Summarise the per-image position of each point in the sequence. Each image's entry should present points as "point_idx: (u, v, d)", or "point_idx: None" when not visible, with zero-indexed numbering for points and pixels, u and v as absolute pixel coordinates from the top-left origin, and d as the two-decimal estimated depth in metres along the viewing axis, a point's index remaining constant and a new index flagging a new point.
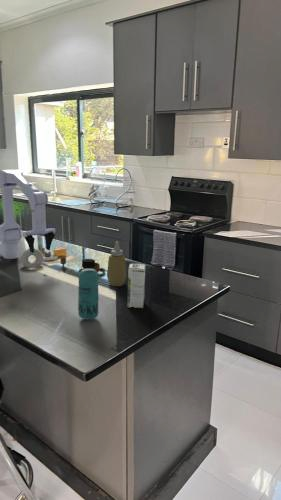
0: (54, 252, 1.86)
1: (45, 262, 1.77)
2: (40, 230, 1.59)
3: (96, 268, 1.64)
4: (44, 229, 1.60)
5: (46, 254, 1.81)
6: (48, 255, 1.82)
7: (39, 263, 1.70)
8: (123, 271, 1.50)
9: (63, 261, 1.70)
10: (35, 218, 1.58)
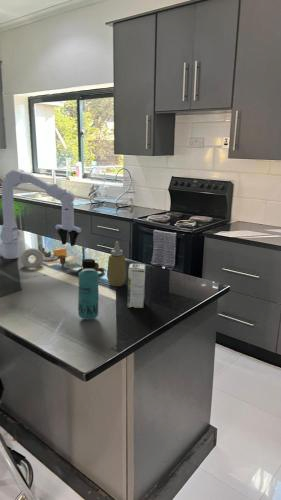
0: (54, 252, 1.86)
1: (45, 262, 1.77)
2: (62, 226, 1.79)
3: (95, 268, 1.64)
4: (66, 226, 1.78)
5: (46, 254, 1.81)
6: (48, 255, 1.82)
7: (39, 263, 1.70)
8: (123, 271, 1.50)
9: (62, 261, 1.70)
10: (69, 215, 1.77)
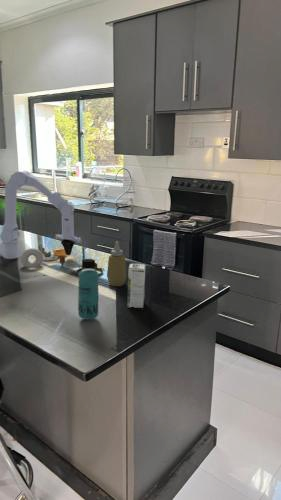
0: (54, 252, 1.86)
1: (45, 262, 1.77)
2: (62, 236, 1.80)
3: (93, 268, 1.65)
4: (66, 236, 1.79)
5: (46, 254, 1.81)
6: (48, 255, 1.82)
7: (39, 263, 1.70)
8: (123, 271, 1.50)
9: (62, 260, 1.71)
10: (69, 226, 1.78)
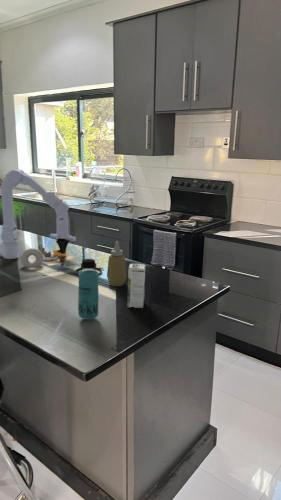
0: (54, 252, 1.86)
1: (45, 262, 1.77)
2: (57, 235, 1.82)
3: (92, 268, 1.65)
4: (61, 235, 1.81)
5: (46, 254, 1.81)
6: (48, 255, 1.82)
7: (39, 263, 1.70)
8: (123, 271, 1.50)
9: (62, 260, 1.72)
10: (64, 225, 1.80)
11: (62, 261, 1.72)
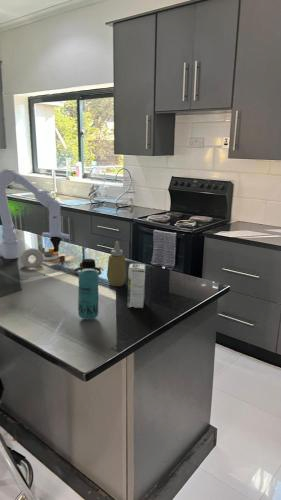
0: (50, 251, 1.87)
1: (45, 262, 1.77)
2: (51, 233, 1.84)
3: None
4: (54, 233, 1.84)
5: (48, 254, 1.82)
6: (50, 255, 1.82)
7: (39, 263, 1.70)
8: (123, 271, 1.50)
9: (62, 259, 1.73)
10: (58, 223, 1.83)
11: (62, 260, 1.74)
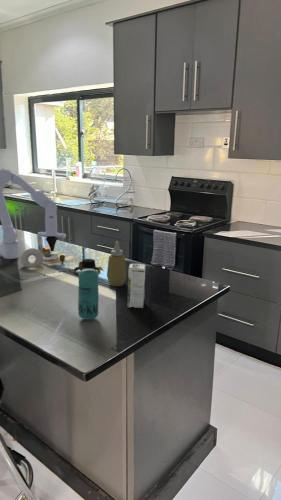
0: None
1: (45, 262, 1.77)
2: (47, 233, 1.86)
3: None
4: (51, 233, 1.85)
5: (49, 254, 1.82)
6: (50, 254, 1.83)
7: (39, 263, 1.70)
8: (123, 271, 1.50)
9: (61, 258, 1.74)
10: (54, 223, 1.85)
11: (62, 259, 1.75)
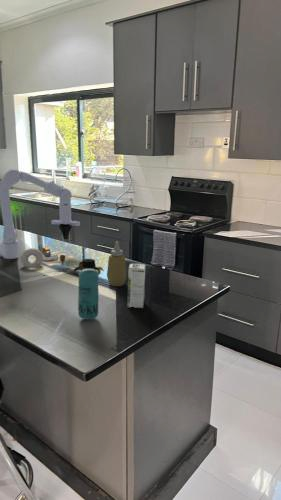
0: None
1: (45, 262, 1.77)
2: (61, 221, 1.86)
3: None
4: (65, 220, 1.86)
5: (49, 254, 1.82)
6: (50, 254, 1.83)
7: (39, 263, 1.70)
8: (123, 271, 1.50)
9: (62, 258, 1.74)
10: (68, 210, 1.86)
11: (62, 259, 1.75)
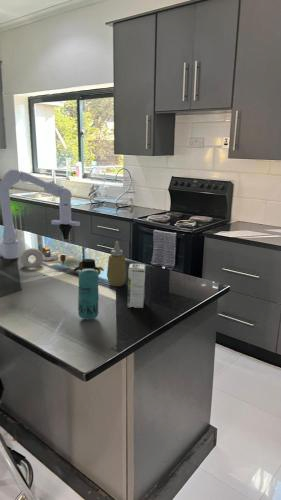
0: None
1: (45, 262, 1.77)
2: (61, 221, 1.86)
3: None
4: (65, 220, 1.86)
5: (49, 254, 1.82)
6: (50, 254, 1.83)
7: (39, 263, 1.70)
8: (123, 271, 1.50)
9: (62, 258, 1.75)
10: (68, 210, 1.86)
11: (62, 259, 1.75)
